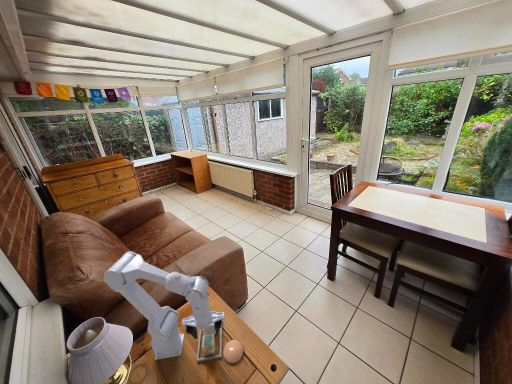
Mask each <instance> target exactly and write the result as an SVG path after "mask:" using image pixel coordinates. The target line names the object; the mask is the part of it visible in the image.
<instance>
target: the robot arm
mask: <svg viewBox="0 0 512 384" xmlns="http://www.w3.org/2000/svg"><path fill="white" fill-rule="evenodd" d="M139 279H142V280H147V281H150V282H154V283H158V284H162V285H163V286H164V288H165V290H166V291H169V292H172V293H175V294H177V295H181V296H184V297H185V300H186V301H187V302H188V303H189V304H190V307H191V308H192V312H193V315H190V316H188V317H184V318H182V322H181V326H182V328H185V333H186V334H188V335H190V336H192V338H193V339H194V340H198V336H199V335H198V329H199V332H200V331H205V329H206V327H207V326H209V325H211V324H213V323H215V325H214V329H215V331H216V334H215V336H216V337H218V336H219V333H220V328H221V326H222V327H223V322H225V317H226V316H225V312H224V311H223V312H221V311H220V312H218V311H215V310H212V309H211V305H210V300H209V295H208V294H209V293H208V289H209V285H210V283H209V280H207V278H205V277H204V276H201V275H200V276H198V275H197V276H189V275H186V274H183V273H180V272H178V271H172V272H168V271H165V270H163V269H161V268H159V267H157V266H154V265H153V264H150V263H147V262H146V261H145V260H144V258H143V255H141V254H137V253H136V252H134V251H126V252H124V253H123V255H122V256H121V257H120V258H119V259H118V260H117V261H115V263H114V264H112V266H111V267H110V268H109V269H108V270H106V271H105V272H104V274H103V279H102V280H103V282H104V283H106V284H107V286H109V288H110V289H112V290H113V291H114V292H116V293H118V292H119V294H121V296H123V297H124V298H125V299H126V300H127V301H128V302H129V303H130V304H131V305H132V306H133V307H134V308H135V309H136V310H137V311H138V312H139V313H140V314H141V315H143V317H144V318H146V320H148V325H147V333H148V334H149V335H150V337H151V348H152V351H153V353H154V359H155V360H156V361H157V360H161V359H162V360H163V359H167V358H173V357H178V356H180V357H181V355H182V350H183V345H184V339H185V333H180V331H179V328H178V327H179V326H178V320H179V318H180V314H179V312H178V311H177V310H175V309H173V308H171V307H170V306H169V305H166V306H163V307H161V305H159V303H158V302H157V301H156V300H155V299H154V298H153V297H152V296H151V295H150V294H149V293H148V292H147V291H146V290H145V289H144V288H143V287H142V286H141V285H140V284H139V283H138V282H137V281H136V280H139ZM197 328H198V329H197Z"/></svg>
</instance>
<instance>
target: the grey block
mask: <svg viewBox="0 0 512 384" xmlns="http://www.w3.org/2000/svg"><path fill="white" fill-rule="evenodd" d="M214 325H215V323H213V324H211V325H209V326H207V327H206V329H205V330H204V333H205V334H204V335H211V334H214V336H216V331H215V329H214Z"/></svg>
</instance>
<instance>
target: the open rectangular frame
mask: <svg viewBox="0 0 512 384" xmlns="http://www.w3.org/2000/svg"><path fill="white" fill-rule="evenodd" d="M202 331H203V330H202ZM202 331H200V330H199V335H198V345H197V355H196V362H197V363H201V362H205V361H210V360H215V359H222V353H223V350H222V347H223V342H222V341H223V335H222V334H223V325H222V326H221V328H220V330H219V334H220V335H219V339H220V340H219V354H217V355H216V354H215V355H209V356H204V357H200V350H201V342H202V341H201V340H202Z"/></svg>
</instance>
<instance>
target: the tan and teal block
mask: <svg viewBox="0 0 512 384" xmlns="http://www.w3.org/2000/svg"><path fill="white" fill-rule="evenodd" d="M201 348H202V353H203V356H204V357H210V356H216V339H215V335H214V334H211V335H206V334H204V335H203V336H202V344H201Z"/></svg>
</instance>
